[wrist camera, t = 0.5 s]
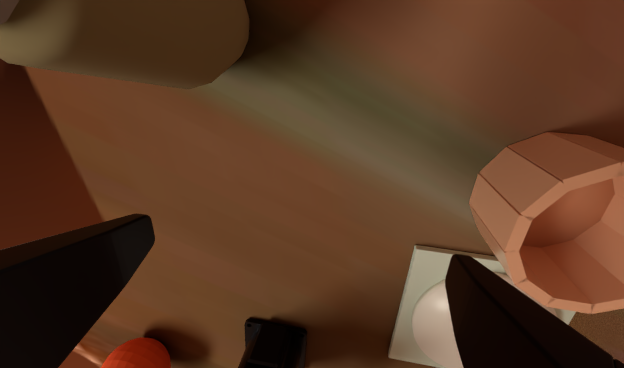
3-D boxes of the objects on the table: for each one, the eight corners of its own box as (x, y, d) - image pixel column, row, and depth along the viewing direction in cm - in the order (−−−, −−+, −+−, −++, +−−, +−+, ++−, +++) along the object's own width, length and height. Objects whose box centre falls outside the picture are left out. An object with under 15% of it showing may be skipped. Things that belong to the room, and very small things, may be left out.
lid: (524, 376, 26) (549, 427, 23) (400, 352, 28) (406, 396, 24) (576, 283, 22) (618, 328, 18) (426, 260, 23) (437, 297, 20)
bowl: (582, 257, 22) (656, 324, 16) (456, 239, 23) (485, 296, 17) (647, 141, 18) (769, 176, 13) (493, 126, 19) (544, 153, 14)
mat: (528, 379, 27) (532, 385, 27) (388, 352, 29) (388, 357, 28) (591, 270, 22) (597, 275, 21) (415, 244, 24) (416, 249, 23)
